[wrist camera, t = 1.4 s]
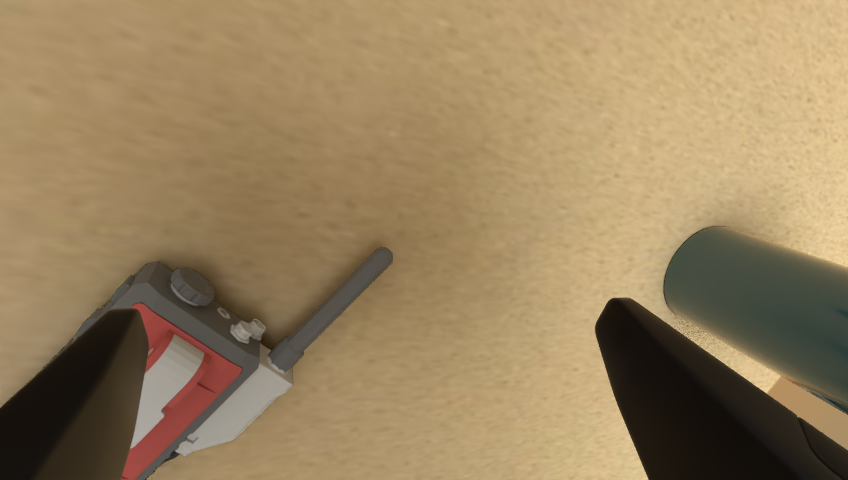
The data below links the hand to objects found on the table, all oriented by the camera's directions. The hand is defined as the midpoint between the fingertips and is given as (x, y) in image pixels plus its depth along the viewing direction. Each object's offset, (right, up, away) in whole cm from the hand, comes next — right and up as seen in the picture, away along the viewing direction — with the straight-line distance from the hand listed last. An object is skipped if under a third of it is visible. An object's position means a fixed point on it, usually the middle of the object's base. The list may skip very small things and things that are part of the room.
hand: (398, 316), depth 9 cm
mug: (+21, -1, +24) cm, 32 cm away
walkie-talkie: (-11, -4, +15) cm, 19 cm away
